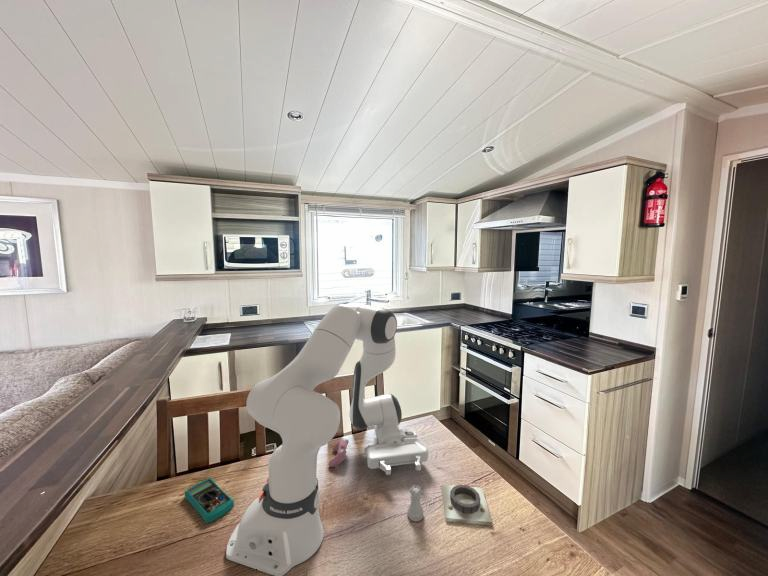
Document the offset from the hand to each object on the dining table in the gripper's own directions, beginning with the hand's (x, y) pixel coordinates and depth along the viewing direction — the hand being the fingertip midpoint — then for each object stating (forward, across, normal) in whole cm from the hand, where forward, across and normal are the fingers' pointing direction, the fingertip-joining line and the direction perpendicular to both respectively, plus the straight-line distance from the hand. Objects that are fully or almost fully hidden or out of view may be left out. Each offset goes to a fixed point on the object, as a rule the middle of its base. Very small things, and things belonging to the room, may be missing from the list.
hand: (403, 470), depth 95 cm
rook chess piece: (+11, 0, +5) cm, 12 cm away
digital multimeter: (-5, -56, +6) cm, 56 cm away
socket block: (+11, +15, +5) cm, 19 cm away
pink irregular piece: (-17, -18, +5) cm, 25 cm away
